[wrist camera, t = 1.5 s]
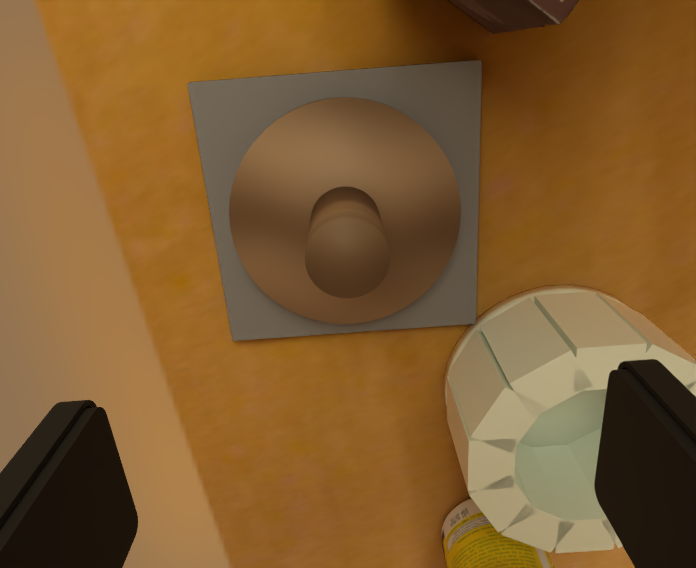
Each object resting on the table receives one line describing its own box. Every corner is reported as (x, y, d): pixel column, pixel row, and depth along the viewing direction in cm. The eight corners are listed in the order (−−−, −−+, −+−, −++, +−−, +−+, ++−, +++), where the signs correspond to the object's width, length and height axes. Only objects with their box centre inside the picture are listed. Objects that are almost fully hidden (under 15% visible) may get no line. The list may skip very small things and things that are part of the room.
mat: (190, 82, 23) (187, 82, 22) (478, 59, 23) (481, 60, 22) (234, 335, 27) (232, 340, 27) (473, 318, 27) (475, 323, 27)
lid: (215, 106, 23) (178, 123, 17) (456, 87, 23) (494, 98, 17) (250, 321, 27) (228, 389, 21) (455, 306, 26) (485, 370, 21)
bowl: (443, 292, 27) (470, 355, 21) (668, 276, 27) (754, 335, 21) (443, 469, 31) (466, 559, 26) (637, 456, 31) (702, 543, 25)
